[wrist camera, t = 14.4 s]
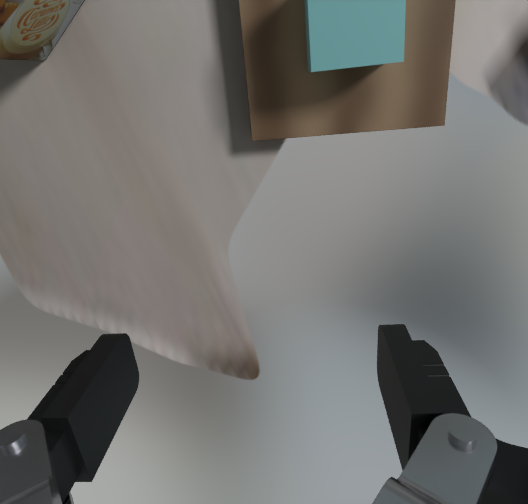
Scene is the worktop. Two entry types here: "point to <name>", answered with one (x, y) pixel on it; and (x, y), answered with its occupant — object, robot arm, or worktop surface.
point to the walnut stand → (342, 75)
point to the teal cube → (354, 33)
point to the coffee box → (33, 26)
